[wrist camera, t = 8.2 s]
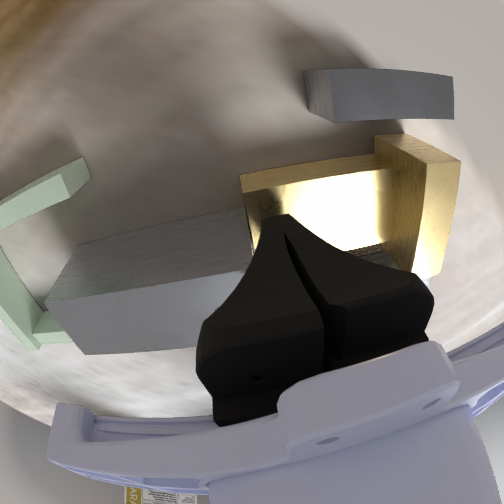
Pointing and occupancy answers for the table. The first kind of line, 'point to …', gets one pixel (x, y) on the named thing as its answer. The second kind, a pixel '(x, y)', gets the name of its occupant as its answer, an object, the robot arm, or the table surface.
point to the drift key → (367, 200)
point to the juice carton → (156, 497)
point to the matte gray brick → (151, 284)
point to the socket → (379, 103)
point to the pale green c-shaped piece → (3, 275)
